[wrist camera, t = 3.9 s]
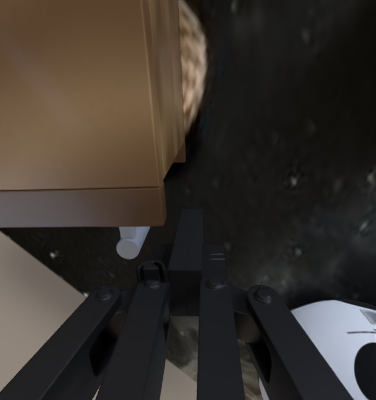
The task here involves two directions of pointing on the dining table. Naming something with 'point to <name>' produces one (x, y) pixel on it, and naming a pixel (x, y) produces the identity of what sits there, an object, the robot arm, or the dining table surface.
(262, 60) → the dining table surface
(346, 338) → the doce de leite tub
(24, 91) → the cabinet
